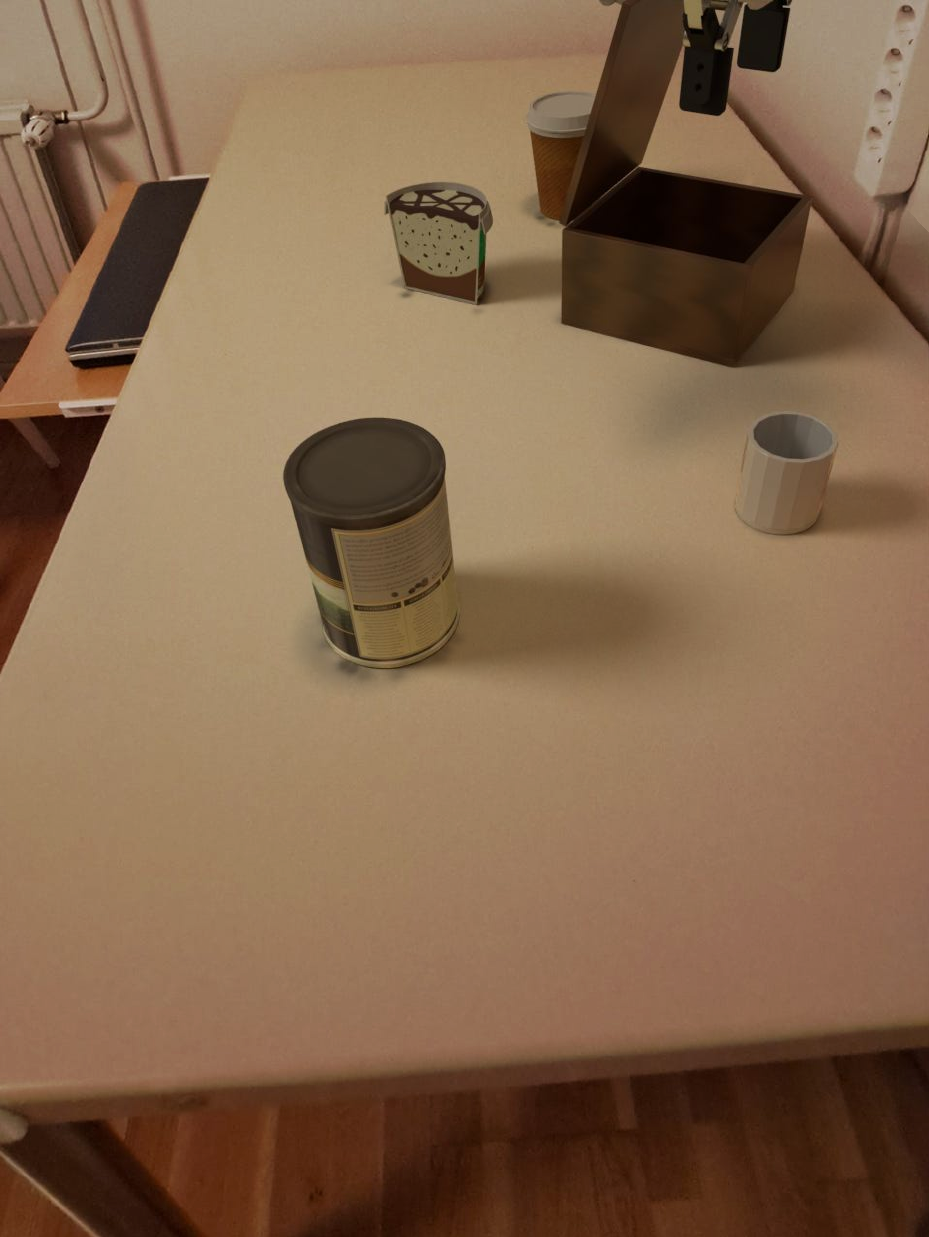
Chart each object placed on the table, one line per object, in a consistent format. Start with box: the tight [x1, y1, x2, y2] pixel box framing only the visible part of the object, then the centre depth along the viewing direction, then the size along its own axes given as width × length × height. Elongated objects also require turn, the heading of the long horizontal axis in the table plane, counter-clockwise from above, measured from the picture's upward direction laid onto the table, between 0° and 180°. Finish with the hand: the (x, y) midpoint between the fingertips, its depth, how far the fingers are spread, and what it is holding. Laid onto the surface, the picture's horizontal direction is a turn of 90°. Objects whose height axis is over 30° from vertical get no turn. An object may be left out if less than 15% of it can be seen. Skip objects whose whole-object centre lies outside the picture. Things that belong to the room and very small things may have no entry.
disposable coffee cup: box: [525, 90, 596, 221], centre depth 111 cm, size 10×10×12 cm
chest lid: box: [558, 0, 685, 228], centre depth 86 cm, size 19×17×5 cm
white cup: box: [734, 410, 839, 536], centre depth 72 cm, size 6×6×7 cm
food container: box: [383, 181, 494, 306], centre depth 100 cm, size 12×6×10 cm, turn 59°
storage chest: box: [560, 166, 813, 368], centre depth 94 cm, size 19×17×10 cm
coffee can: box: [282, 416, 460, 669], centre depth 64 cm, size 10×10×14 cm
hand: (730, 89), depth 67 cm, fingers open, 9 cm apart
